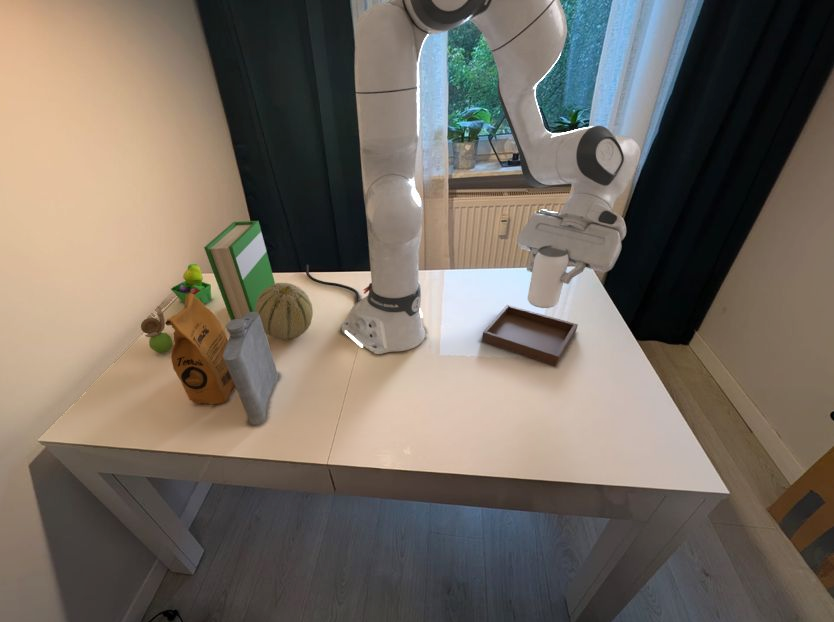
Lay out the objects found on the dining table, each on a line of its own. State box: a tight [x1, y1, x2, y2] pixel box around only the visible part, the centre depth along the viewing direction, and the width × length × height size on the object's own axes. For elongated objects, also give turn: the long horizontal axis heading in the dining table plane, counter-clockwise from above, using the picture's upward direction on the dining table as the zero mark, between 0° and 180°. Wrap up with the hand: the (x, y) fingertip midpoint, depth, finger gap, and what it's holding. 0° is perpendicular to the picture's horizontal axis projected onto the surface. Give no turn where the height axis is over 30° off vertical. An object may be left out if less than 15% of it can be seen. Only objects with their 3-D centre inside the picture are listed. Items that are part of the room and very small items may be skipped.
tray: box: [481, 304, 579, 367], centre depth 92 cm, size 18×15×3 cm
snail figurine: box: [140, 305, 174, 354], centre depth 98 cm, size 5×6×12 cm
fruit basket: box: [170, 263, 212, 305], centre depth 119 cm, size 11×9×11 cm
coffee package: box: [165, 293, 236, 405], centre depth 81 cm, size 10×12×22 cm
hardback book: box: [203, 220, 276, 321], centre depth 106 cm, size 18×7×24 cm, turn 172°
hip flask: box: [223, 312, 280, 426], centre depth 78 cm, size 16×4×20 cm, turn 178°
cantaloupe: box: [255, 282, 314, 341], centre depth 98 cm, size 15×15×15 cm
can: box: [527, 245, 569, 309], centre depth 81 cm, size 6×6×12 cm
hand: (546, 276), depth 81 cm, fingers closed on can, 6 cm apart
